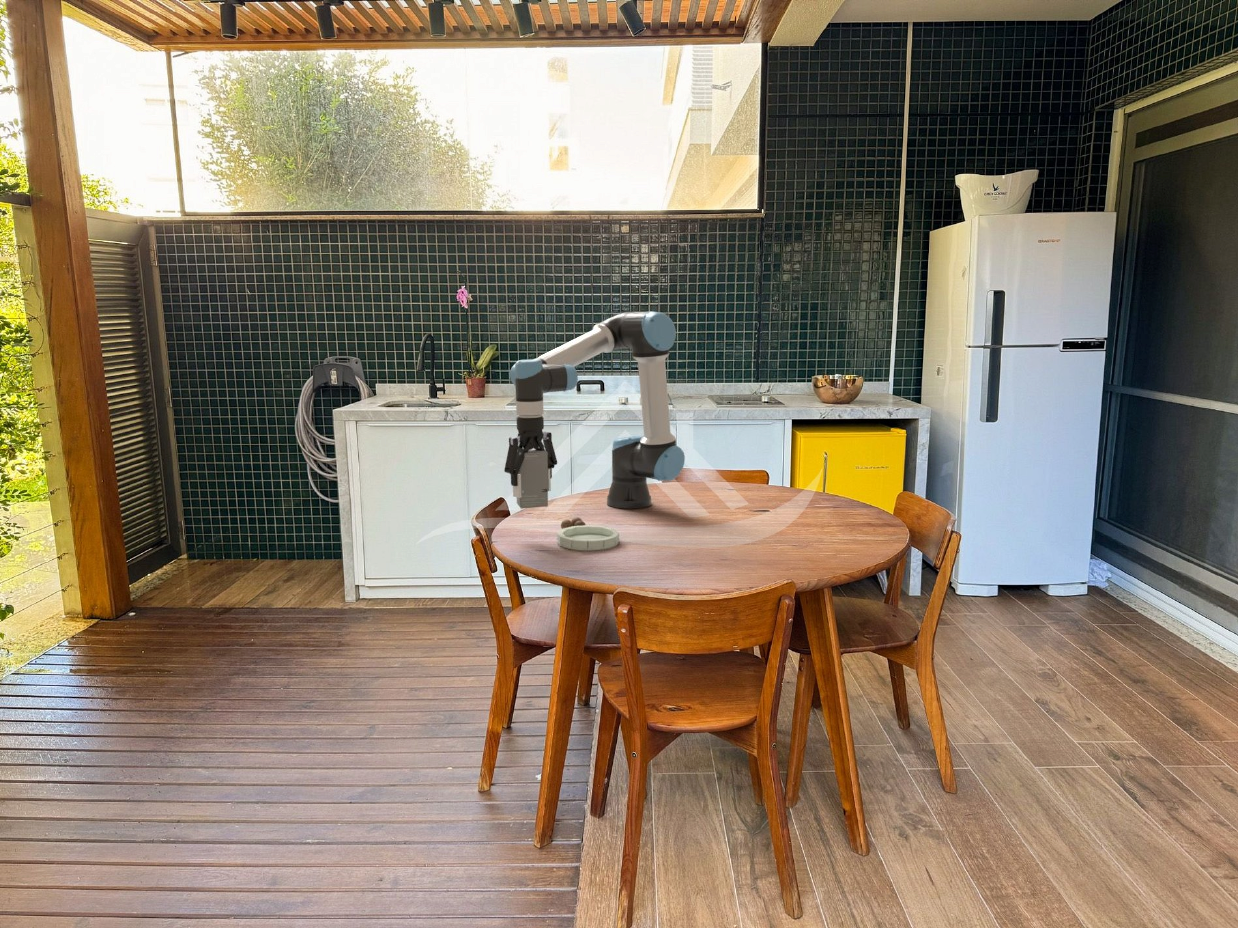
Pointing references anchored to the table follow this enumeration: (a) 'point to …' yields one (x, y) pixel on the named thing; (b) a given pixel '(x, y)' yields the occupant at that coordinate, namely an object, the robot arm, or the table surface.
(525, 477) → the skincare box
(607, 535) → the tray
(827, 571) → the table surface
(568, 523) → the bead
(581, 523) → the bead
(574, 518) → the bead
